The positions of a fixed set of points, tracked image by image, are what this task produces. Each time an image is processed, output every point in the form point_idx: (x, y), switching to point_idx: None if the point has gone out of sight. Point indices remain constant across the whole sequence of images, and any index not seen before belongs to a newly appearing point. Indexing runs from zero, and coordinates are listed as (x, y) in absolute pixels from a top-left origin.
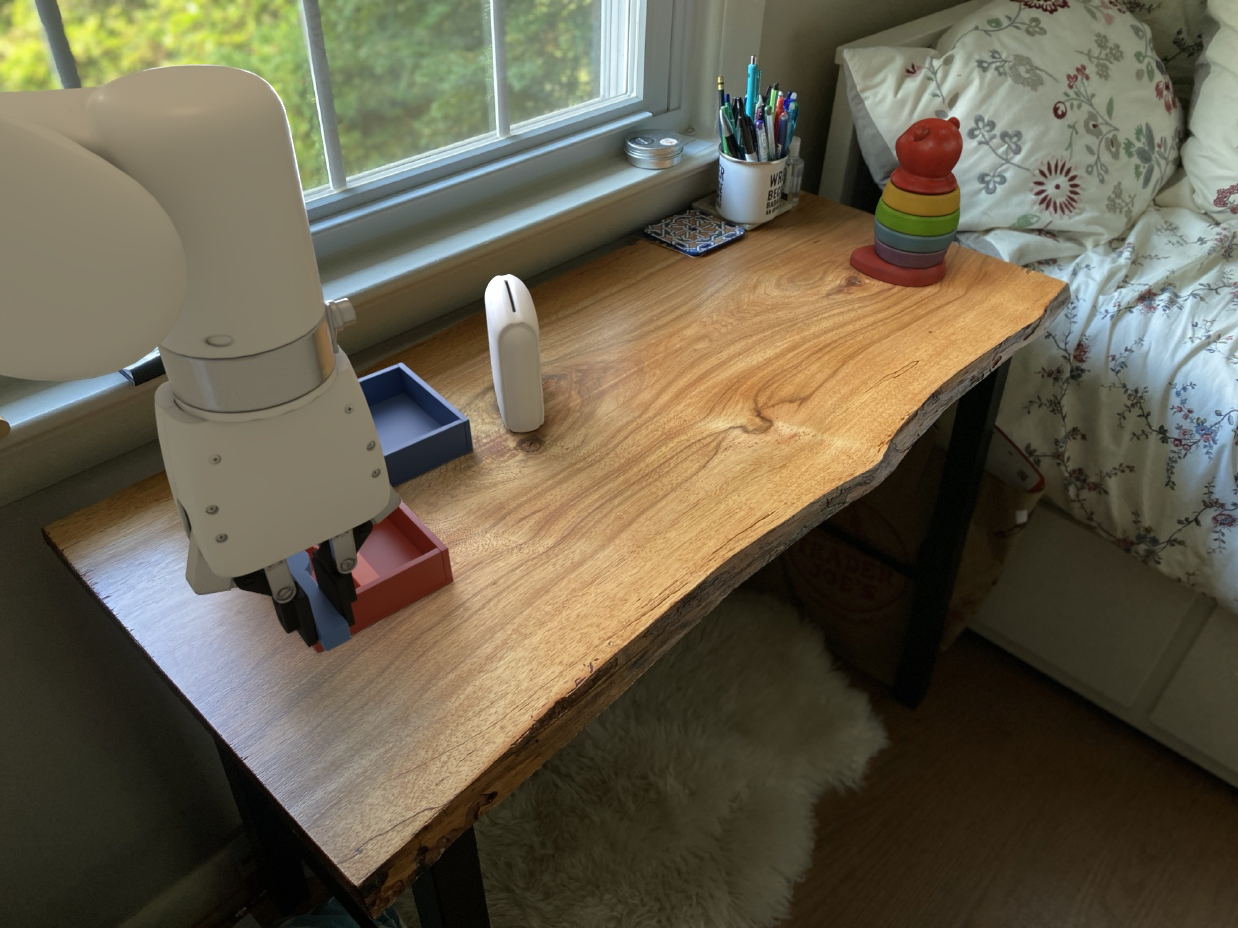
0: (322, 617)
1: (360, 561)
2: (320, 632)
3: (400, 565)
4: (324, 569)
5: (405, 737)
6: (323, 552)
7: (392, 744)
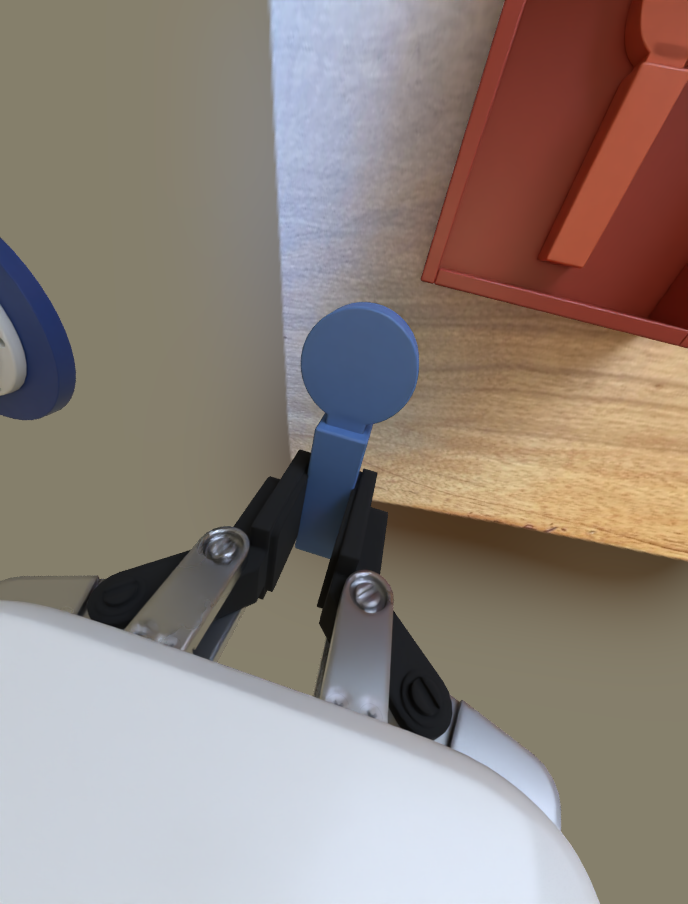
0: (314, 531)
1: (620, 180)
2: (296, 543)
3: (653, 230)
4: (327, 587)
5: (392, 442)
6: (330, 615)
7: (380, 438)
